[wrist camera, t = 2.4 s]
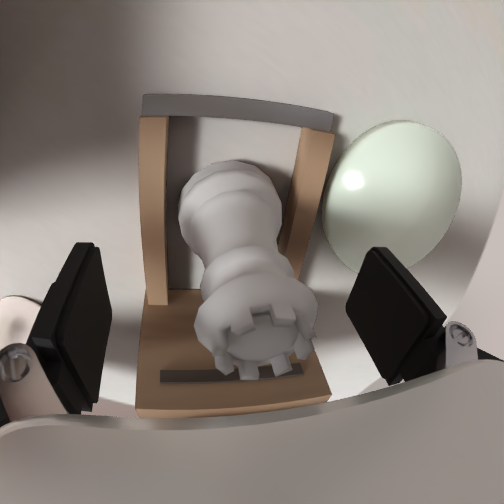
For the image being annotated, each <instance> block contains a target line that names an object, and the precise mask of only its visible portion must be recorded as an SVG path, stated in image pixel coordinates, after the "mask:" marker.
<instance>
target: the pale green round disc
mask: <svg viewBox="0 0 504 504" xmlns="http://www.w3.org/2000/svg"><path fill="white" fill-rule="evenodd" d="M461 185H462V177H461V168H460V163H459V160H458V157H457V155H456V152H455V150H454V148H453V147H452V145H451V144H450V142H449V141H448V140H447V139H446V138H445V137H444V136H443V135H442V134H440V133H439V132H437V131H435V130H434V129H432V128H429V127H427V126H424V125H422V124H419V123H416V122H413V121H407V120H395V121H389V122H385V123H382V124H380V125H377V126H375V127H373V128H371V129H369V130H368V131H366V132H364V133H363V134H362V135H361V136H359V137H358V138H357V139H356V140H354V142H353V143H352V144H351V145H350V146H349V147H348V148H347V149H346V150H345V151H344V153H343V154H342V155H341V157H340V158H339V160H338V161H337V163H336V165H335V166H334V168H333V170H332V172H331V175H330V177H329V179H328V182H327V185H326V188H325V191H324V197H323V202H322V223H323V228H324V233H325V235H326V238H327V240H328V242H329V244H330V246H331V247H332V249H333V250H334V252H335V253H336V255H337V256H338V258H339V259H340V260H341V261H342V263H343V264H344V265H345V266H347V267H348V268H349V269H350V270H352V271H354V272H356V273H358V274H359V271H360V268H361V266H362V263H363V260H364V258H365V255H366V253H367V252H368V251H369V250H370V249H371V248H372V247H387V248H388V249H389V250H390V251H391V252H392V253H393V254H394V255H395V257H396V258H397V259H398V260H399V261H400V262H401V263H402V264H403V265H404V266H405V268H406V269H407V268H409V267H411V266H413V265H414V264H416V263H417V262H419V261H420V260H421V259H423V258H424V257H425V256H426V255H427V254H428V253H430V252H431V251H432V249H433V248H434V247H435V246H436V245H437V244H438V243H439V242H440V240H441V239H442V238H443V236H444V235H445V233H446V232H447V230H448V228H449V226H450V225H451V223H452V220H453V218H454V216H455V213H456V211H457V208H458V204H459V200H460V195H461Z"/></svg>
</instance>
